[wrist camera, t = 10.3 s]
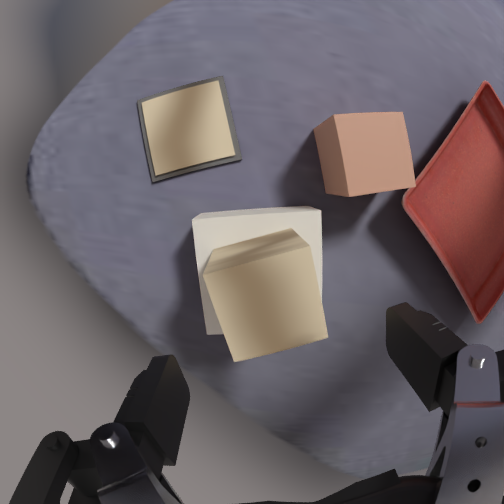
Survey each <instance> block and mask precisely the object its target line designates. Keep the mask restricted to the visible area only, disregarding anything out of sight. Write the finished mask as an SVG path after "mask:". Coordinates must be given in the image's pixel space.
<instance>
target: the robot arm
mask: <svg viewBox="0 0 504 504" xmlns="http://www.w3.org/2000/svg"><path fill="white" fill-rule="evenodd" d="M386 347H387V351H388V354H389V356H390V358H391V359H392V360H393V362H394V363H395V364H396V366H397V367H398V369H399V370H400V371H401V373H402V374H403V375H404V377H405V378H406V380H407V381H408V382H409V384H410V385H411V386H412V388H413V389H414V391H415V392H416V393H417V395H418V396H419V398H420V399H421V401H422V402H423V403H424V405H425V406H426V408H427V409H428V411H429V412H430V411H432V410H434V409H436V408H438V407H441V408H442V410H443V412H442V415H441V420H440V425H439V430H438V435H437V439H436V444H435V448H434V452H433V455H432V459H431V462H430V465H429V467H428V470H427V472H426V475H425V476H423V475H412V476H402V477H398V475H397V473H396V470H395V469H392V470H390V471H387V472H385V473H382V474H379V475H377V476H374V477H371V478H368V479H365V480H362V481H359V482H356V483H354V484H352V485H350V486H348V487H346V488H344V489H342V490H340V491H338V492H336V493H334V494H332V495H330V496H328V497H326V498H324V499H321V500H319V501H316V502H309V503H307V502H304V503H303V502H276V501H264V502H255V503H241V504H504V496H503V492H504V350H501V351H498V352H494V350H492V349H491V348H490V347H488V346H485V345H481V344H472V345H467V344H466V343H465V342H463V341H462V340H461V339H460V338H459V337H458V336H456V335H455V334H454V333H453V332H452V331H451V330H449V329H448V328H446V326H445V325H443V324H442V323H440V322H439V320H437V319H436V318H435V317H434V316H433V315H431V314H429V313H426V312H423V311H416V310H415V309H414V308H413V307H412V306H410V305H409V304H408V303H406V302H405V303H402V304H398V305H395V306H392V307H389V308H388V309H387V311H386ZM189 401H190V392H189V388H188V385H187V382H186V380H185V378H184V376H183V374H182V371H181V369H180V367H179V365H178V362H177V360H176V358H175V357H174V355H164V356H155V357H153V358H152V360H151V362H150V364H149V366H148V368H147V370H143V371H142V372H141V373H140V374H139V375H138V376H137V377H136V378H135V379H134V381H133V383H132V385H131V387H130V390H129V391H128V393H127V397H125V399H124V401H123V403H122V405H121V407H120V409H119V412H118V414H117V416H116V418H115V420H114V422H112V423H107V424H104V425H102V426H100V427H99V428H97V429H96V430H95V431H94V432H93V433H92V435H91V437H90V439H88V440H82V441H75V442H73V441H72V440H71V438H70V437H69V436H68V435H67V434H66V433H65V432H62V431H55V432H52V433H50V434H48V435H47V436H45V437H44V438H43V439H42V441H41V442H40V444H39V446H38V447H37V449H36V451H35V453H34V455H33V457H32V458H31V460H30V462H29V464H28V466H27V468H26V470H25V472H24V474H23V476H22V478H21V480H20V482H19V484H18V486H17V488H16V490H15V492H14V494H13V496H12V498H11V500H10V503H9V504H60V498H61V496H62V493H63V490H64V488H65V485H66V483H67V481H68V482H69V483H70V484H71V485H72V486H73V487H74V489H73V492H72V495H71V497H70V500H69V503H68V504H184V503H183V502H182V500H181V499H180V497H179V496H178V495H177V493H176V492H175V490H174V489H173V488H172V486H171V485H170V483H169V482H168V480H167V479H166V477H165V476H164V475H163V473H162V468H163V465H167V466H168V465H169V466H175V465H176V460H177V455H178V451H179V445H180V441H181V437H182V432H183V428H184V423H185V418H186V414H187V410H188V406H189Z"/></svg>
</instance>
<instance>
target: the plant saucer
mask: <svg viewBox="0 0 504 504" xmlns="http://www.w3.org/2000/svg"><path fill="white" fill-rule="evenodd" d="M415 184H416V187H412V188H408V189H407V191H406V192H405V193H404V195H403V197H402V206H403V208H404V210H405V212H406V213H407V214H408V215H409V217H410V218H411V219H412V221H413V222H414V224H415V225H416V226H417V228H418V229H419V230H420V232H421V233H422V234H423V236H424V237H425V239H426V240H427V241H428V243H429V244H430V246H431V247H432V249H433V250H434V252H435V253H436V255H437V256H438V258H439V259H440V261H441V262H442V264H443V265H444V267H445V269H446V270H447V272H448V273H449V275H450V277H451V278H452V280H453V282H454V283H455V285H456V287H457V288H458V290H459V292H460V294H461V295H462V297H463V299H464V301H465V303H466V304H467V306H468V308H469V310H470V312H471V314H472V316H473V318H474V320H475V322H476V323H477V324H481V323H482V322H483V320H484V319H485V318H486V317H487V315H488V314H489V312H490V311H491V310H492V308H493V307H494V305H495V304H496V302H497V301H498V299H499V298H500V296H501V295H502V293H503V292H504V106H503V104H502V103H501V101H500V99H499V98H498V96H497V94H496V93H495V91H494V89H493V88H492V86H491V85H490V84H489V82H487V81H486V80H484V81H483V82H482V84H481V85H480V87H479V88H478V90H477V92H476V93H475V95H474V96H473V98H472V99H471V101H470V102H469V104H468V106H467V107H466V109H465V110H464V112H463V113H462V115H461V116H460V118H459V119H458V121H457V122H456V124H455V125H454V127H453V128H452V130H451V131H450V133H449V134H448V136H447V137H446V139H445V140H444V141H443V143H442V144H441V146H440V147H439V149H438V150H437V151H436V153H435V154H434V155H433V157H432V158H431V160H430V161H429V162H428V164H427V165H426V166H425V168H424V169H423V170H422V171H421V173H420V174H419V175H418V177H417V178H416V179H415Z"/></svg>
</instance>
